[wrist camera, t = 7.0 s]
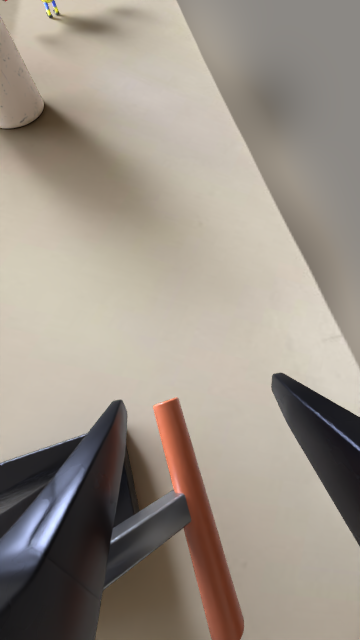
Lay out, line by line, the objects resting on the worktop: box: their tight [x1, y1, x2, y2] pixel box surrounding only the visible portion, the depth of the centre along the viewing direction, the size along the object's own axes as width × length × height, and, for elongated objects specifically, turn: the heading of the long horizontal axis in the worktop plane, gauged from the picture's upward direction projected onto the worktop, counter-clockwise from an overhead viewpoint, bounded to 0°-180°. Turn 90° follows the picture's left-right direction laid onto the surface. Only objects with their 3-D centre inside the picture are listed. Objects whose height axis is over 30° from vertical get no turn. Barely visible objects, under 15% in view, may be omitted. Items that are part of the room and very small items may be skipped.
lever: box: [103, 398, 244, 640], centre depth 6 cm, size 13×9×2 cm
